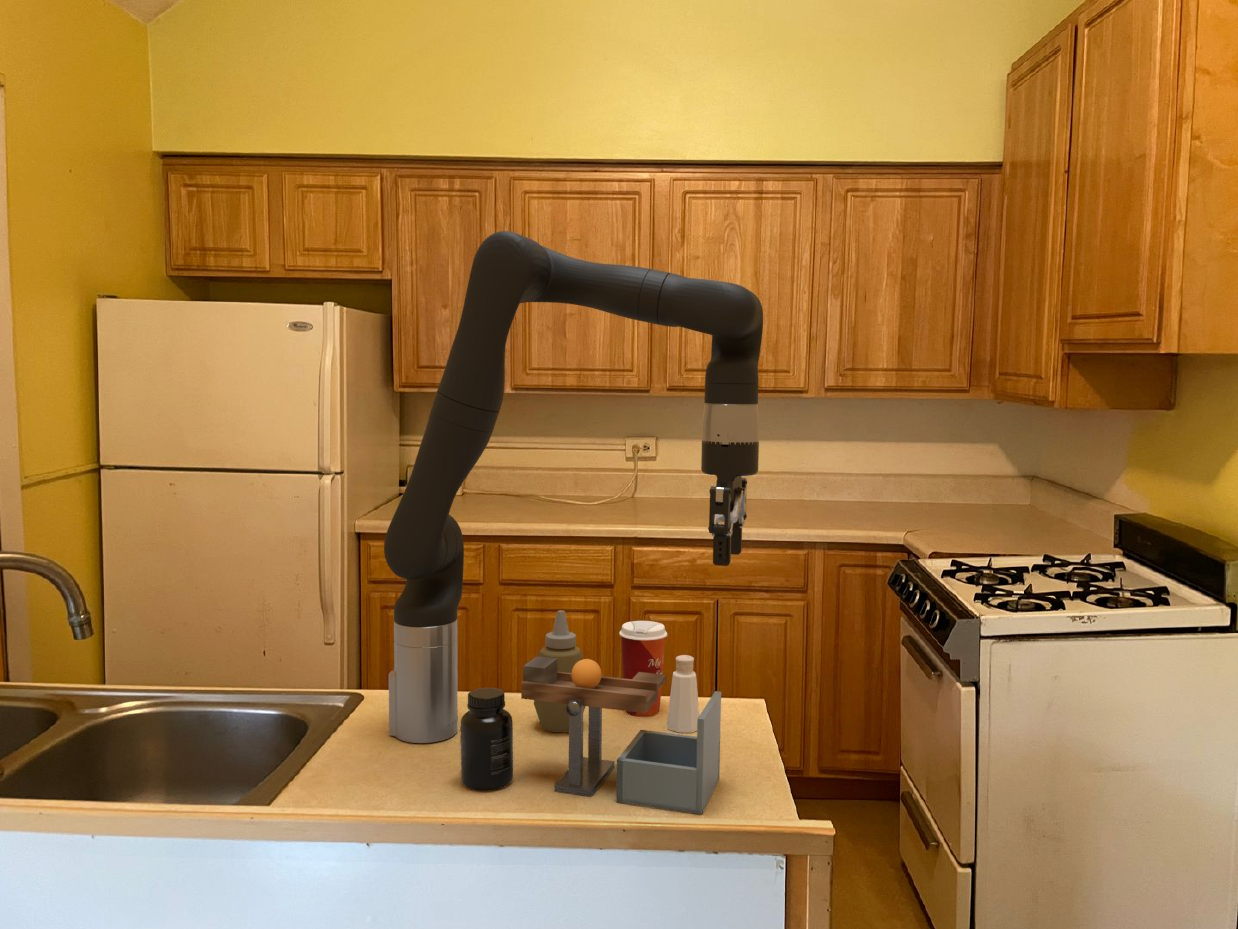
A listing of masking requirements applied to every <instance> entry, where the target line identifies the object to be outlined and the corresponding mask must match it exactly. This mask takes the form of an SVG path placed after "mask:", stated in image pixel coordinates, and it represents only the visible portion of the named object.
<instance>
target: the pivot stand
mask: <svg viewBox="0 0 1238 929" xmlns="http://www.w3.org/2000/svg"><path fill="white" fill-rule="evenodd" d="M583 703H584V699H575V698H571V699H570V700H569V704H568V705H567V707H566V711H567V713H568V714H569V731H568V770H567V771H566V772H565V773H564V774H562V776H561V777H560V779H558V781H557V782H556V783H555V784H554V787H553V788H554V790H553V792H557V793H562V794H569V795H570V794H571V795H575V796H576V795H577V796H584V797H590V798H591V797H593V795H594V794H595V793H596V791H597V790H598V788H600V786H601V785H602V784H603V782H604V781H605V780H606V778H607V777H608V776H609V775H610V774H611V772H612V771H613V769H614V768H615V760H610V759H602V756H603V755H602V754H603V752H602V751H603V750H602V749H603V748H602V746H603V744H602V743H603V741H602V740H603V738H602V737H603V734H602V732H603V708H597V707H588V728H587V729H588V732H587V733H588V734H587V735H588V737H587V740H588V741H587V743H588V744H587V751H588V752H587V757H586V756H584V713H583Z"/></svg>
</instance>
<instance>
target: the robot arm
mask: <svg viewBox="0 0 1238 929" xmlns="http://www.w3.org/2000/svg"><path fill="white" fill-rule="evenodd" d="M476 250H477V251H476V252H475V254H474V258H473V260H472V264H471V268H470V272H469V279H468V283H467V286H466V287H467V289H466V292H465V297H464V301H463V302H464V303H463V307H462V312H461V315H460V320H459V323H458V327H457V330H456V333H455V337H454V340H453V342H452V344H451V347H450V352H449V355H448V358H447V360H446V364H445V367H444V369H443V373H442V376H441V379H440V382H439V384H438V386H437V390H436V393H435V396H434V400H433V402H432V406H431V408H430V412H429V416H428V420H427V423H426V426H425V430H424V434H423V435H422V439H421V441H420V446H419V447H418V452H417V454H416V457H415V461H414V464H413V466H412V467H413V468H412V471H411V474H410V477H409V479H408V482H407V485H406V487H405V489H404V492H403V494H402V496H401V499H400V501H399V503H398V505H397V508H396V510H395V512H394V514H393V516H392V518H391V521H390V523H389V526H388V528H387V531H386V533H385V537H384V543H383V553H384V554H383V556H384V559H385V561H386V564H387V567H388V568H389V569H390V571H391V572H392V573H393V574H394V575H395V576H397V577H398V578H400V579H404V580H406V582H405V586H404V588H403V590H402V592H401V594H400V595H399V597H398V598H397V599H396V600H395V602H394V606H393V641H394V643H393V648H394V649H393V651H394V653H393V655H394V657H393V658H394V660H393V661H394V662H393V663H394V665H393V667H394V668H393V670H391V671H390V672H389V673H388V735H389V736H393V737H396V738H397V739H398V740H400V741H403V742H407V743H414V744H415V743H416V744H430V743H437V742H441V741H445V740H448V739H450V738H452V737H453V736H455V735H456V734H457V732H458V720H459V717H458V609H459V605H460V602H461V600H462V596H463V588H464V587H463V586H464V567H465V566H464V563H465V562H464V560H465V558H464V557H465V547H464V546H465V544H464V537H463V532H462V529H461V527H460V525H459V523H458V521H457V520H456V519H455V518H454V517H453V516H452V515H451V514H450V512H451V508H452V505H453V502H454V500H455V498H456V495H457V493H458V491H459V489H460V488H461V487H462V485H463V483H464V481H465V480H466V478H467V477H468V475H469V474H470V473H471V471H472V470H473V468H474V467H475V465H476V464H477V463H478V461H479V460H480V458H481V456H482V454H483V453H484V451H485V450H486V448H487V446H488V444H489V442H490V439H491V438H492V435H493V433H494V429H495V426H496V422H497V420H498V417H499V413H500V411H501V407H502V405H503V401H504V394H505V382H506V368H505V366H506V365H505V363H506V362H505V360H506V359H505V358H506V345H507V341H508V337H509V333H510V330H511V326H512V325H513V321H514V318H515V317H516V316H515V315H516V313H517V310H518V309H519V306H520V304H525V303H551V304H555V303H557V304H567V305H576V306H580V307H586V308H591V309H594V310H598V311H602V312H605V313H608V314H611V315H616V316H619V317H622V318H626V319H629V320H630V319H631V320H635V321H639V322H644V323H648V324H652V325H657V326H663V327H670V328H671V327H673V328H683V329H686V330H691V331H695V332H698V333H703V334H706V335H710V336H711V352H710V354H711V355H710V356H711V357H710V361H709V362H708V363H707V365H706V369H705V374H704V378H705V379H704V406H703V413H702V419H701V420H702V421H701V424H702V425H701V458H700V459H701V460H700V461H701V462H700V463H701V465H700V466H701V467H700V468H701V469H700V470H701V473H703V474H705V475H709V476H715V477H716V484H715V486H710V488H709V509H708V510H709V516H708V517H709V520H708V527H707V530H708V533H709V534H711V537H713V539H712V541H713V543H712V564H713V565H714V566H719V567H720V566H722V567H723V566H724V567H727V566H729V565H730V564H731V560H732V559H731V558H732V556H731V555H735V556H736V555H740V554H741V553H742V550H743V549H742V548H743V547H742V546H743V528H744V525H745V523H746V522H745V521H746V520H747V485H748V479H747V478H746V477H749V476H755V475H756V474H758V473H759V451H760V415H759V414H760V413H759V405H758V404H759V361H760V355H761V349H762V348H761V347H762V340H763V332H764V330H763V329H764V310H763V306H762V303H761V300H760V299H759V298H758V296H757V295H756V293H754V292H752V291H751V290H749V289H747V288H746V287H745V286H742V285H740V284H737V283H733V282H727V281H720V280H714V279H705V278H696V277H695V278H694V277H693V278H692V277H687V276H684V275H682V274H678V273H672V272H669V271H662V270H659V269H654V268H653V269H652V268H648V267H641V266H635V265H625V264H614V263H611V264H610V263H603V262H602V263H599V262H593V261H588V260H583V259H579V258H576V257H572V256H569V255H566V254H563V253H561V252H559V251H556V250H553V249H551V248H548V247H546V246H543V245H542V244H540V243H539V242H538V241H536V240H534V239H532V238H529V237H528V236H525V235H522V234H520V233H516V232H513V231H509V230H501V231H496V232H494V233H491V235H488V236H487V237H486V238H485V239H484V240H483V241H482V242H481V244H480V245H479V247H478V248H477V249H476ZM721 523H723V524H721Z"/></svg>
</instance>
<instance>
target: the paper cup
mask: <svg viewBox="0 0 1238 929" xmlns="http://www.w3.org/2000/svg"><path fill="white" fill-rule="evenodd" d="M618 633H619V636H620V637H621V656H622V678H623V679H633V678H634V677H635V676H636V675H637V673H638V672H644V673H653V674H663V672H664V657H665V645H666V637H668V632H667V631H666V627H665V625H664V624H663V623H661V622H657V621H651V620H635V621H634V620H632V621H627V622H625V623H623V624H622V626H621V630H619V632H618ZM663 675H664V674H663ZM662 686H663V685H662ZM662 686H661V688H660V689H659V690H658V699H657V700H656V701H655V703H654V704H653V705H652V706H651V707H650V709H649V710H648V711H647V712H646V713H639V712H631V711H626V712H627V713H628V714H627V713H626V712H625V713H626V714H627V715H629V714H630V716H633V717H639V718H640V717H641V718H643V717H644V718H646V717H653V716H656V715H658V714H659V713H660V709H661V698H662ZM658 712H659V713H658Z"/></svg>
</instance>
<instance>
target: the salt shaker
mask: <svg viewBox="0 0 1238 929" xmlns="http://www.w3.org/2000/svg"><path fill="white" fill-rule="evenodd" d="M694 661H695V657H693V656H691V655H688V654H682V655H677V656H676V657H675V662H676V663H675V668H676V669H675V671H673V672H672V677H671V687H670V695H669V702H668V712H667V719H666V727H667V729H668V731H669V730H670V731H671V732H674V733H676V734H686V733H687V734H692V733H695V732H697V719H698V717H699V716H700V709H699V708H700V706H699V694H698V693H699V692H698V682H697V681H698V680H697V673H696V672H695V671H694Z"/></svg>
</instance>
